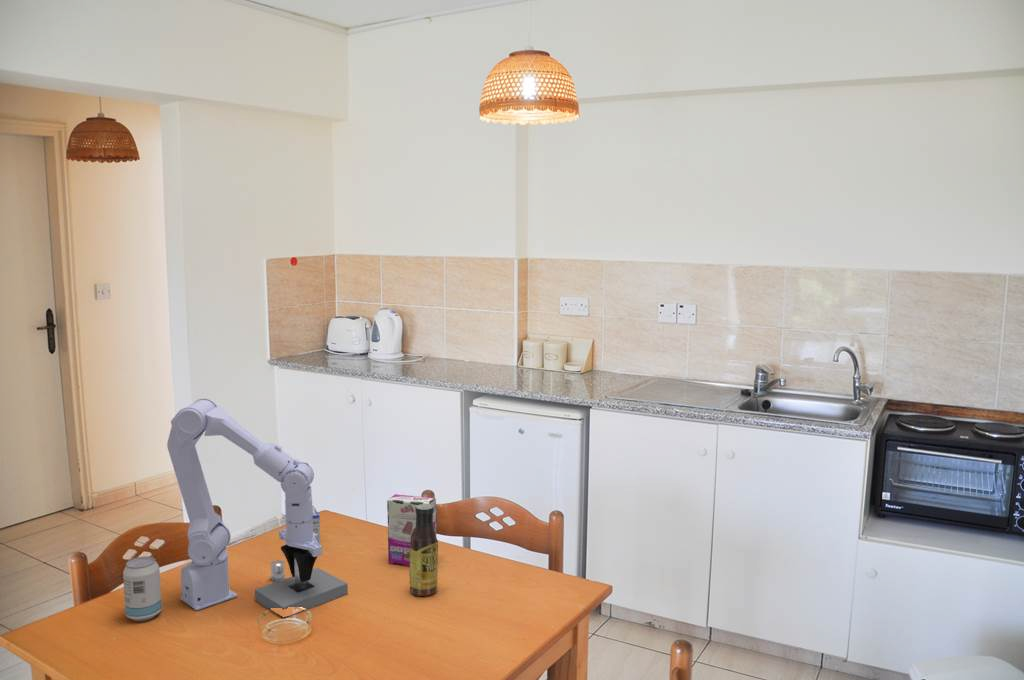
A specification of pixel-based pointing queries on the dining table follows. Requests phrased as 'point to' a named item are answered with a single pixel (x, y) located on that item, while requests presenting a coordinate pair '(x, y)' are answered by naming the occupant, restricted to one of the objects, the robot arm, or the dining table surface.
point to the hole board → (318, 593)
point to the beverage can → (142, 588)
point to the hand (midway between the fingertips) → (301, 577)
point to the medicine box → (316, 524)
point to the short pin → (277, 571)
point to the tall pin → (298, 584)
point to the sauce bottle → (423, 553)
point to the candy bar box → (403, 525)
